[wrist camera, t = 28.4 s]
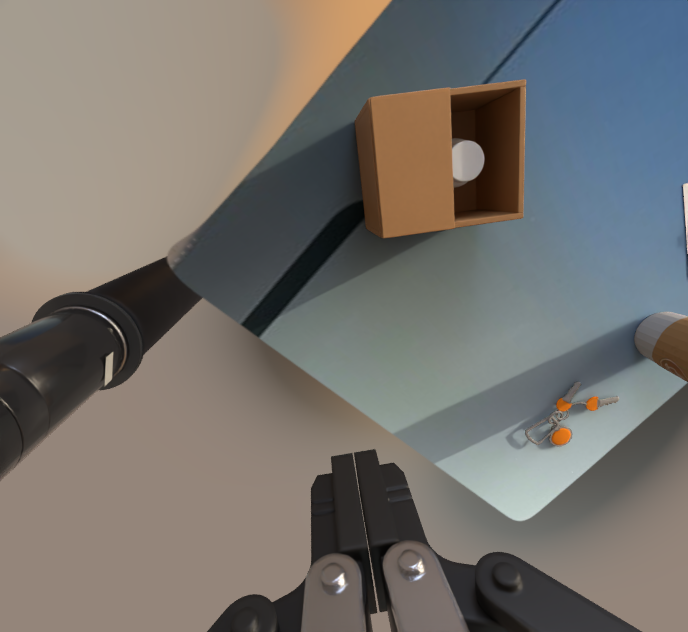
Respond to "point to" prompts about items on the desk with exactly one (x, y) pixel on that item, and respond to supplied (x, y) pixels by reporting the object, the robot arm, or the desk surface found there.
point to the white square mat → (686, 208)
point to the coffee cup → (665, 341)
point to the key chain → (563, 433)
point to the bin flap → (414, 161)
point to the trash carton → (482, 128)
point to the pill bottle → (466, 161)
